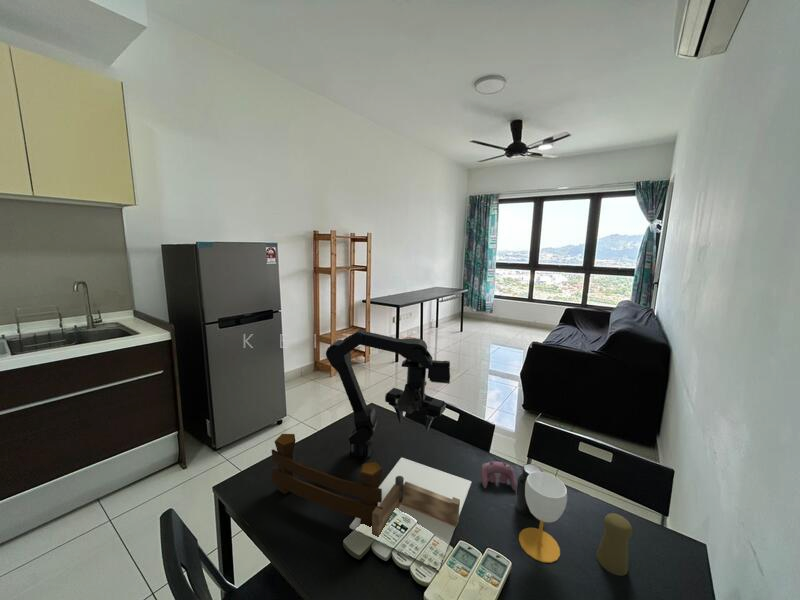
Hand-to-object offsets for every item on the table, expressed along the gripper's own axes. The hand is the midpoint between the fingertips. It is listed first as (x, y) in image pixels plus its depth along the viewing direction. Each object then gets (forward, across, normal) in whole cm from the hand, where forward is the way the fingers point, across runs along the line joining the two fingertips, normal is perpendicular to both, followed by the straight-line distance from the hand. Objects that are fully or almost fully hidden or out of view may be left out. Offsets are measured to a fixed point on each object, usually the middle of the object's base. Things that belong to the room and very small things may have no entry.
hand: (413, 426), depth 103 cm
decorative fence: (+12, -12, -28) cm, 33 cm away
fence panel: (+11, +13, -17) cm, 24 cm away
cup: (+12, +39, -13) cm, 43 cm away
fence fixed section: (+11, +4, -23) cm, 26 cm away
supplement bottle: (+12, +36, -3) cm, 38 cm away
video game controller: (+12, +27, +3) cm, 30 cm away
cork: (+12, +54, -10) cm, 56 cm away
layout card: (+12, +9, -16) cm, 21 cm away
